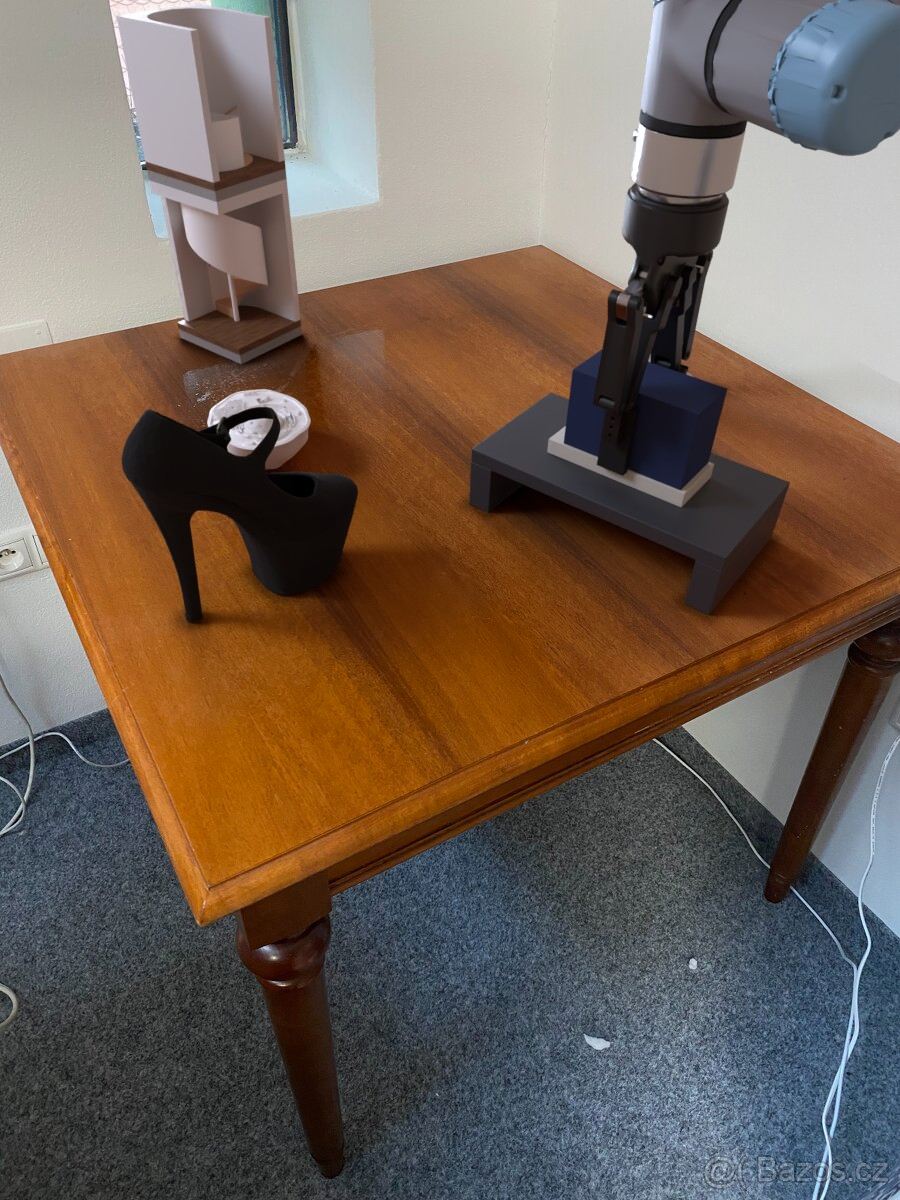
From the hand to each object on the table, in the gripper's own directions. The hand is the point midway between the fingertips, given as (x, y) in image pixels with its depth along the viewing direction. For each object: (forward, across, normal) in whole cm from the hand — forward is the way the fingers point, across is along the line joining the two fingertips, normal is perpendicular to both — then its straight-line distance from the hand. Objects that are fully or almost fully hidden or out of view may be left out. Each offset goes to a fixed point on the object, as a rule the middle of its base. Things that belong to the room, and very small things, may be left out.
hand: (629, 452), depth 81 cm
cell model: (+8, +14, -35) cm, 39 cm away
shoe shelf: (+8, 0, 0) cm, 8 cm away
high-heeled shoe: (+8, +28, -20) cm, 35 cm away
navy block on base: (+1, 0, 0) cm, 1 cm away
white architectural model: (+8, -4, -58) cm, 59 cm away
